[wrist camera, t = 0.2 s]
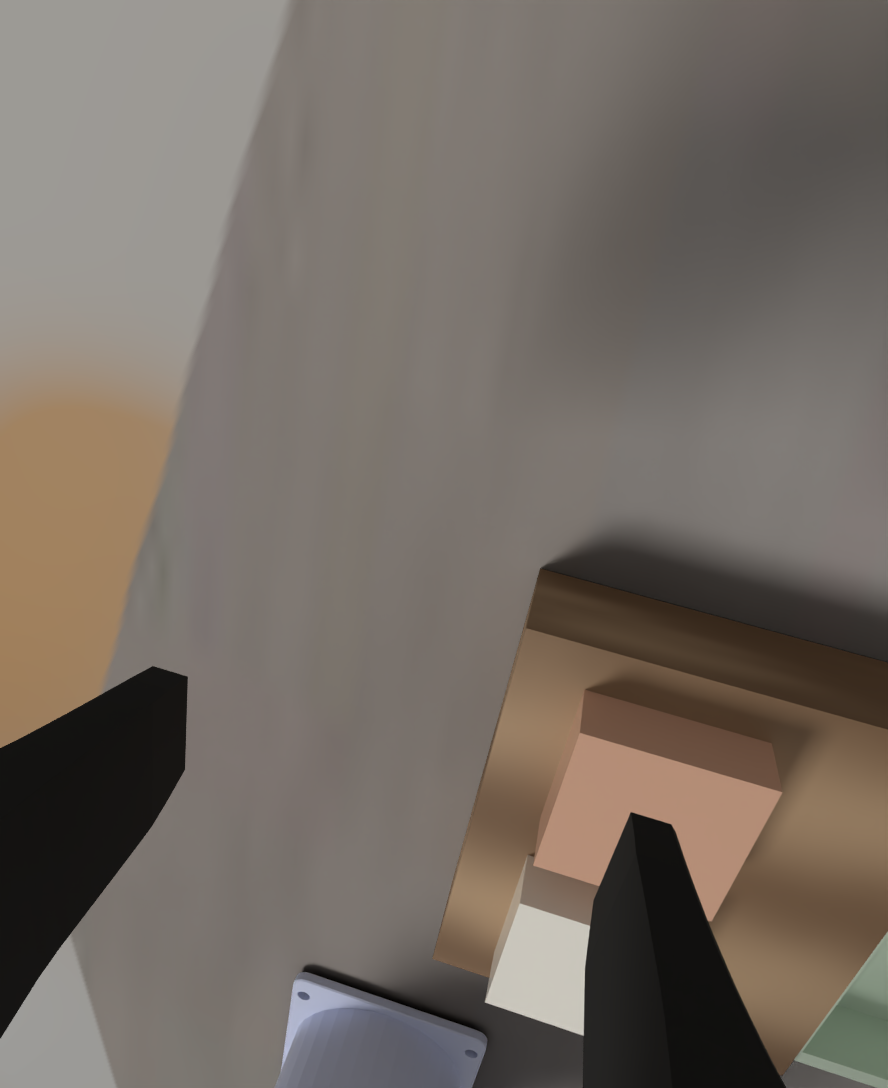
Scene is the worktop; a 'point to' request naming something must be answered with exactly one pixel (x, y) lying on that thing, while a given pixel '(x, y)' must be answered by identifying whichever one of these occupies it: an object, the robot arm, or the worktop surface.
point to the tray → (856, 1027)
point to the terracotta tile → (656, 793)
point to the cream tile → (544, 949)
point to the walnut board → (727, 703)
